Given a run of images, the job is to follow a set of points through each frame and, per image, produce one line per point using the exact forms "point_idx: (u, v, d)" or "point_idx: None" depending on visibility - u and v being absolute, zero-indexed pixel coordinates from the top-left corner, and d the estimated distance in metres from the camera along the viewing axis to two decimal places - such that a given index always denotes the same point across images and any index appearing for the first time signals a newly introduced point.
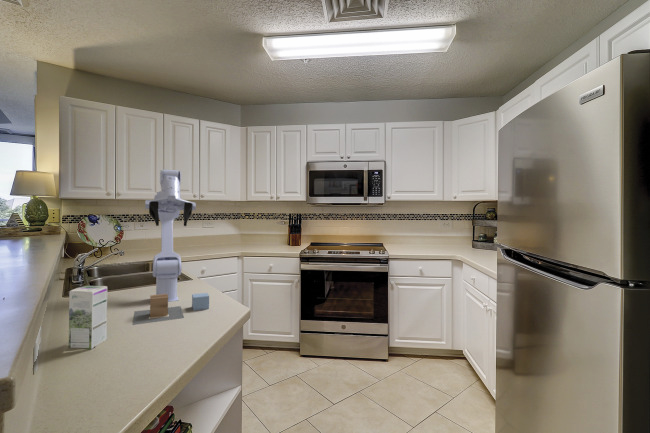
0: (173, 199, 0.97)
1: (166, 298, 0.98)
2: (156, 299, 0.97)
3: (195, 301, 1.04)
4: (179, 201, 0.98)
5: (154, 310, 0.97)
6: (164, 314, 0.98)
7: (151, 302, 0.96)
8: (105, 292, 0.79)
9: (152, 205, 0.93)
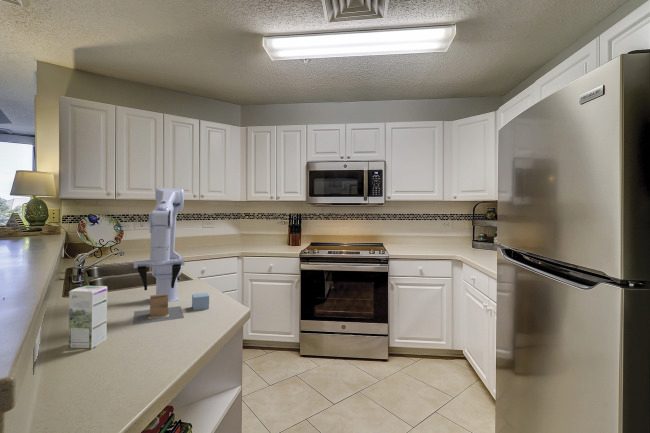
0: None
1: (166, 298, 0.98)
2: (156, 299, 0.97)
3: (195, 301, 1.04)
4: (168, 263, 0.99)
5: (154, 310, 0.97)
6: (164, 314, 0.98)
7: (151, 302, 0.96)
8: (105, 292, 0.79)
9: (140, 274, 0.95)
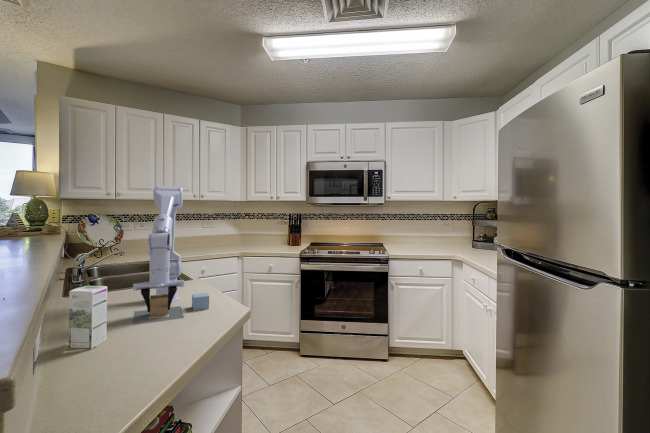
0: None
1: (166, 298, 0.98)
2: (156, 299, 0.97)
3: (195, 301, 1.04)
4: None
5: (154, 310, 0.97)
6: (164, 314, 0.98)
7: (151, 302, 0.96)
8: (105, 292, 0.79)
9: (143, 296, 0.95)
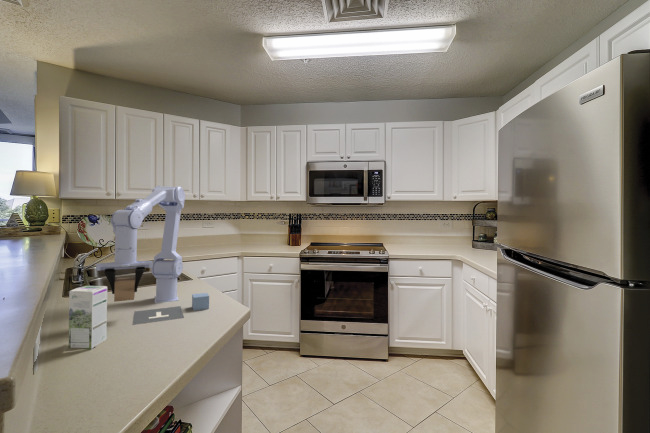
0: None
1: (132, 281, 0.93)
2: (121, 282, 0.91)
3: (195, 301, 1.04)
4: (134, 265, 0.94)
5: (119, 294, 0.91)
6: (130, 298, 0.92)
7: (116, 285, 0.90)
8: (105, 292, 0.79)
9: (107, 276, 0.90)
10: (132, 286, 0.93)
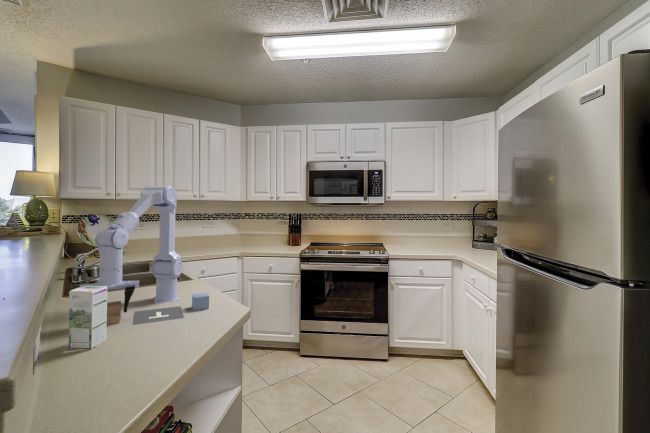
0: None
1: (117, 306, 0.91)
2: None
3: (195, 301, 1.04)
4: None
5: None
6: (115, 323, 0.90)
7: None
8: (105, 292, 0.79)
9: None
10: (117, 311, 0.91)
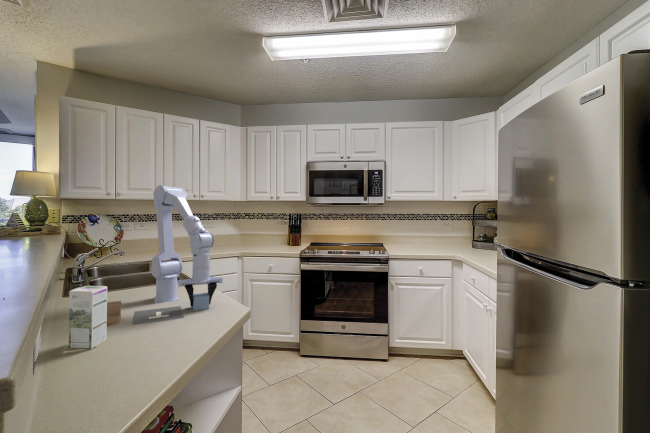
0: None
1: (117, 306, 0.91)
2: None
3: (195, 301, 1.04)
4: None
5: None
6: (115, 323, 0.90)
7: None
8: (105, 292, 0.79)
9: (188, 291, 1.04)
10: (117, 311, 0.91)
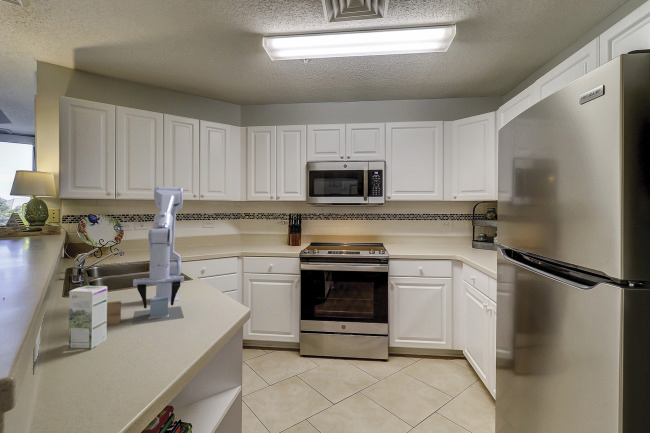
0: (161, 281, 0.97)
1: (117, 306, 0.91)
2: None
3: (152, 306, 0.96)
4: None
5: None
6: (115, 323, 0.90)
7: None
8: (105, 292, 0.79)
9: (140, 292, 0.95)
10: (117, 311, 0.91)
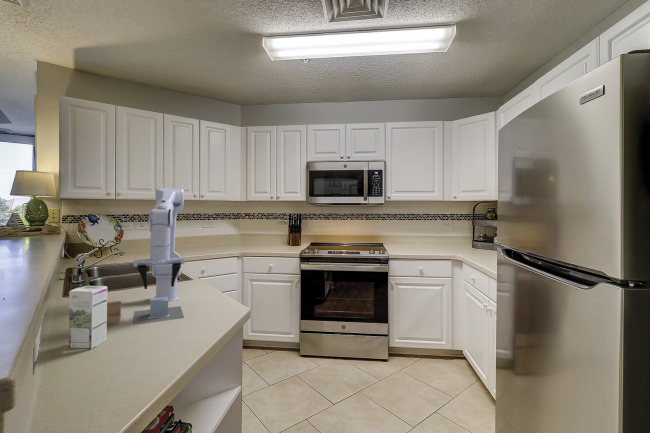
0: None
1: (117, 306, 0.91)
2: None
3: (152, 306, 0.96)
4: (168, 261, 0.99)
5: None
6: (115, 323, 0.90)
7: None
8: (105, 292, 0.79)
9: (140, 272, 0.95)
10: (117, 311, 0.91)
